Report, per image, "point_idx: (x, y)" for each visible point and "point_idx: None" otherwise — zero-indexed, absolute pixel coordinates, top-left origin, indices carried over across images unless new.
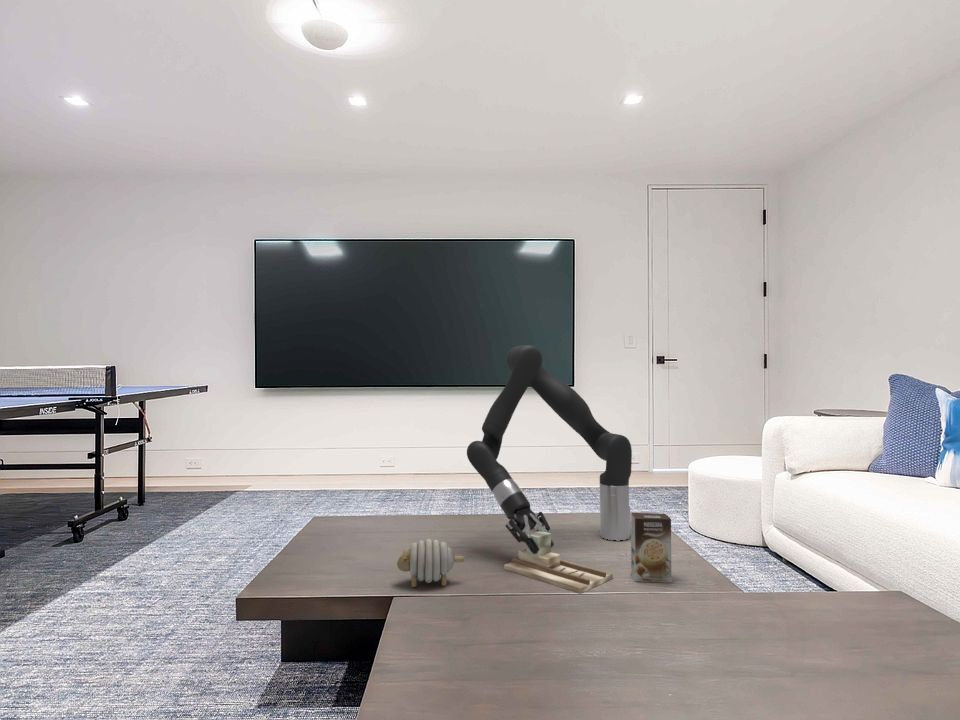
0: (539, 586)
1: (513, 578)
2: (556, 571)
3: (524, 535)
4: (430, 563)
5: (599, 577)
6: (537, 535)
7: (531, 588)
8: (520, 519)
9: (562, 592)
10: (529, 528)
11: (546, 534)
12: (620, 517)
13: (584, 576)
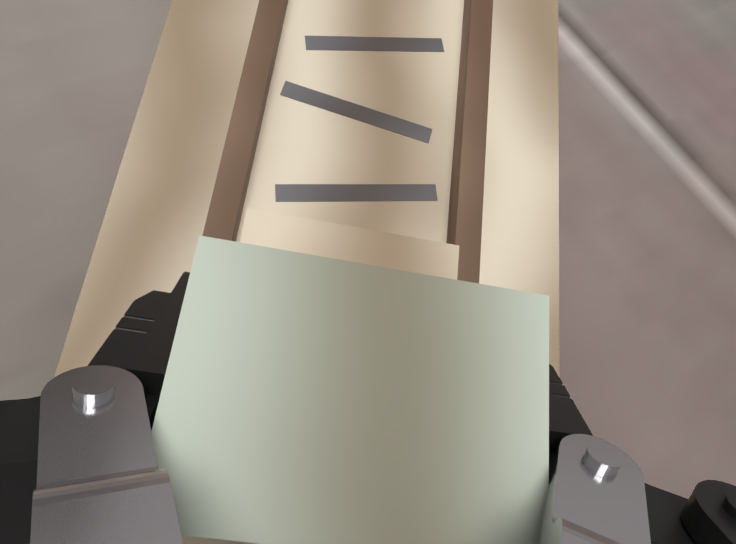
0: (625, 237)
1: (646, 482)
2: (481, 162)
3: (732, 490)
4: None
5: None
6: (458, 366)
7: (687, 262)
8: None
9: (600, 87)
10: (579, 529)
11: (307, 268)
12: None
13: (365, 21)
